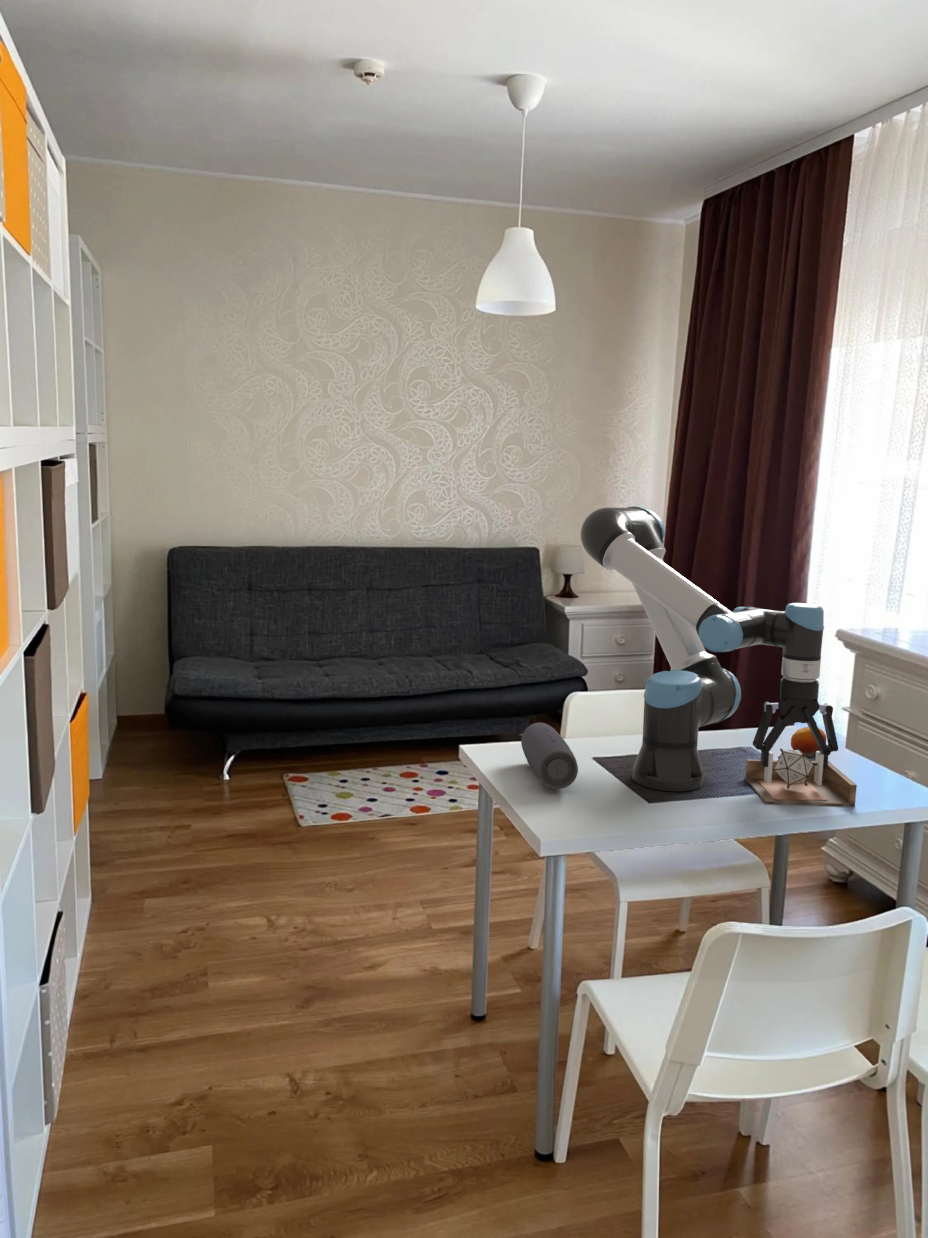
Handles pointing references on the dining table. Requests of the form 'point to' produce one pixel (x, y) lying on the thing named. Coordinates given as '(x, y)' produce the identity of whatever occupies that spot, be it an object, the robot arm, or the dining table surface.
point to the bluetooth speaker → (549, 756)
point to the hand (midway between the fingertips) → (792, 782)
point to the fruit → (806, 741)
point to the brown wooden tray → (802, 787)
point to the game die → (793, 767)
